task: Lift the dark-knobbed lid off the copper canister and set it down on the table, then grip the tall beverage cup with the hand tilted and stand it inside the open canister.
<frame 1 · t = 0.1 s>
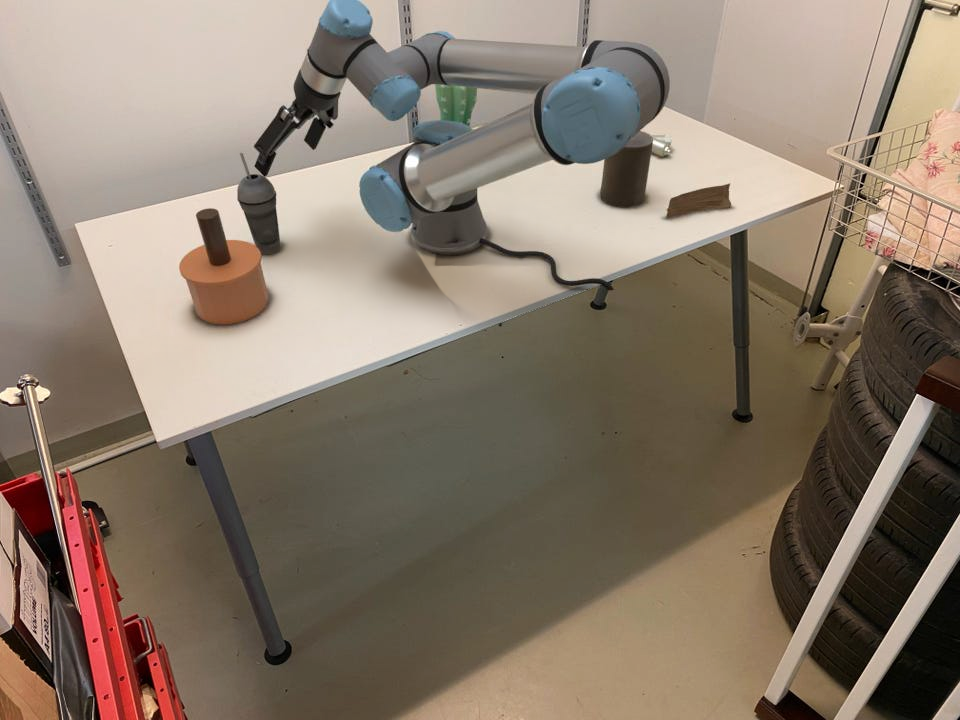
hand: (285, 157, 141), 15 cm above the table, tool tilted 35°, fingers open, 13 cm apart
pillar candle: (622, 197, 160), on the table
wood plank: (697, 213, 154), on the table
beverage cup: (269, 249, 144), on the table
pipe fitting: (652, 153, 177), on the table
canister: (232, 303, 130), on the table
lid: (221, 263, 125), point 8 cm above the table, touching canister
potted cactus: (457, 172, 170), on the table
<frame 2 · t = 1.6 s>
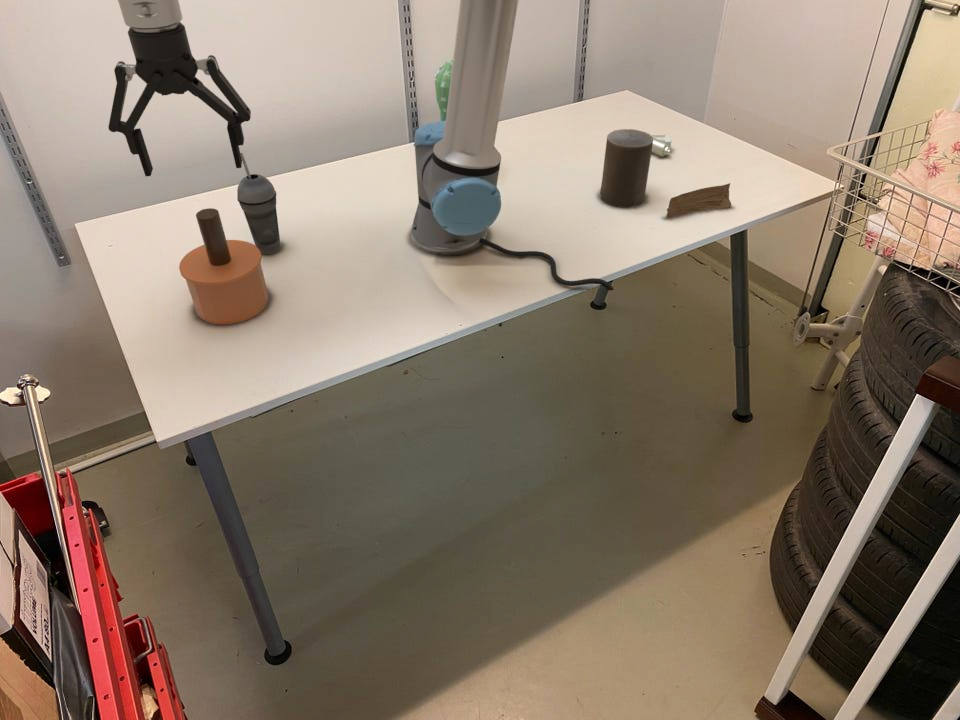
hand: (194, 168, 114), 26 cm above the table, tool pointing down, fingers open, 13 cm apart
nothing on the table moved.
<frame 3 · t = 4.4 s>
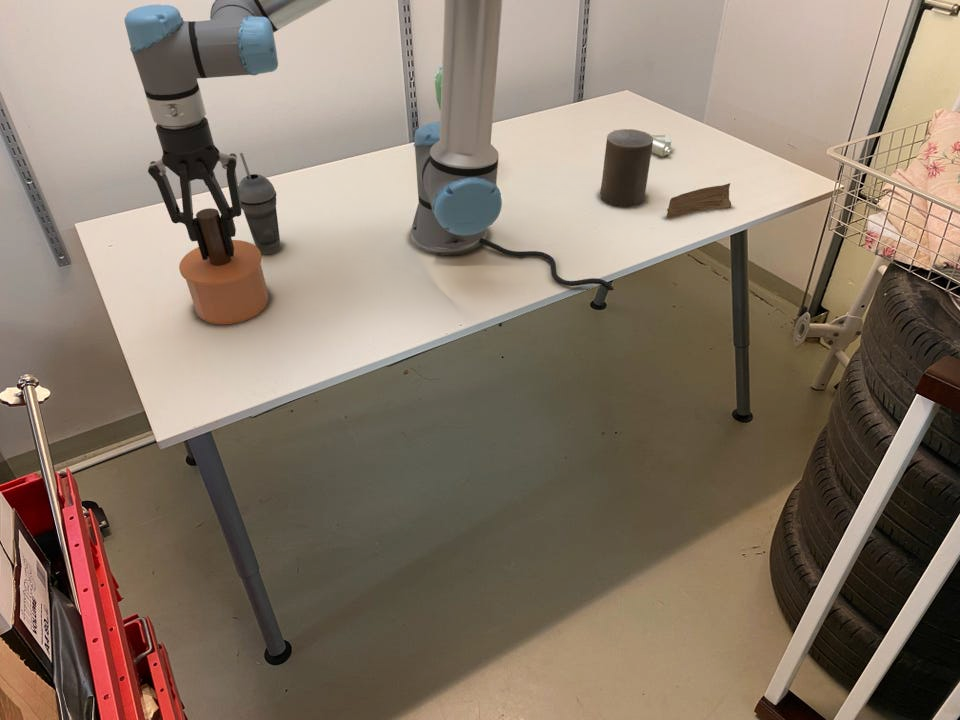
hand: (218, 253, 123), 10 cm above the table, tool pointing down, fingers closed on lid, 4 cm apart
lid: (221, 263, 125), point 9 cm above the table, touching canister, gripper
everything else where it was.
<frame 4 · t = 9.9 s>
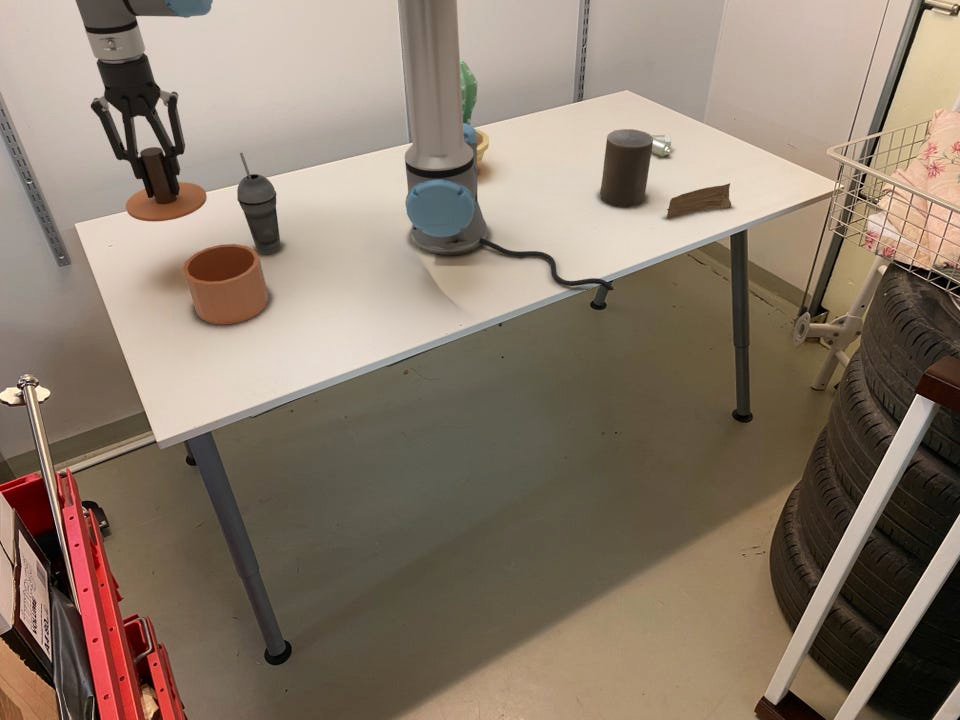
hand: (164, 192, 128), 16 cm above the table, tool pointing down, fingers closed on lid, 4 cm apart
lid: (167, 202, 129), point 15 cm above the table, touching gripper
everything else where it was.
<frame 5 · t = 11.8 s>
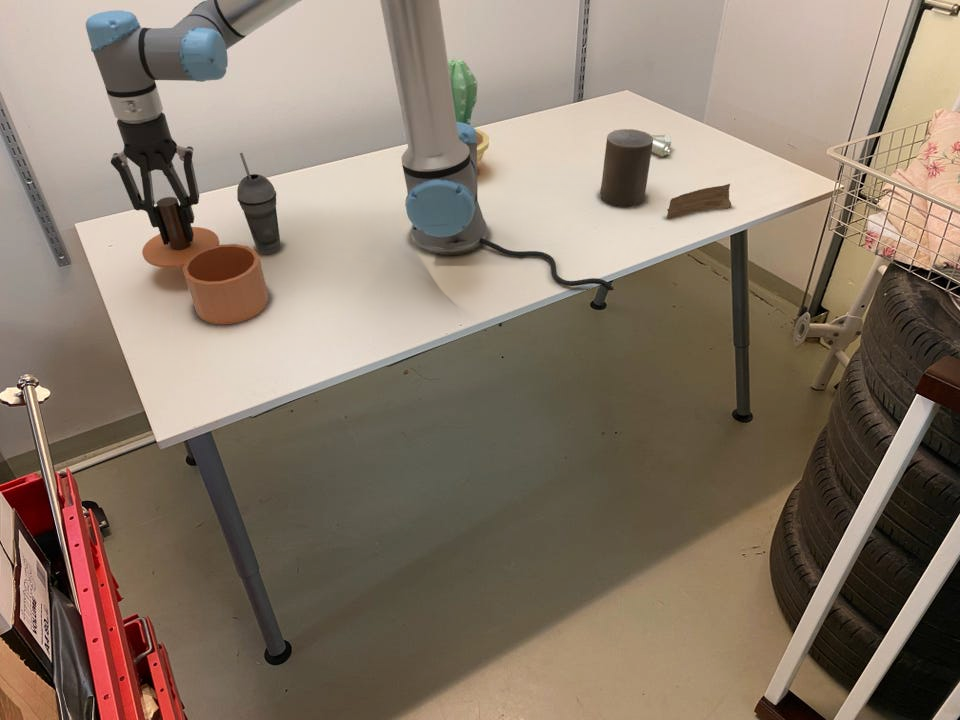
hand: (178, 239, 134), 7 cm above the table, tool pointing down, fingers closed on lid, 4 cm apart
lid: (181, 248, 135), point 5 cm above the table, touching gripper
everything else where it was.
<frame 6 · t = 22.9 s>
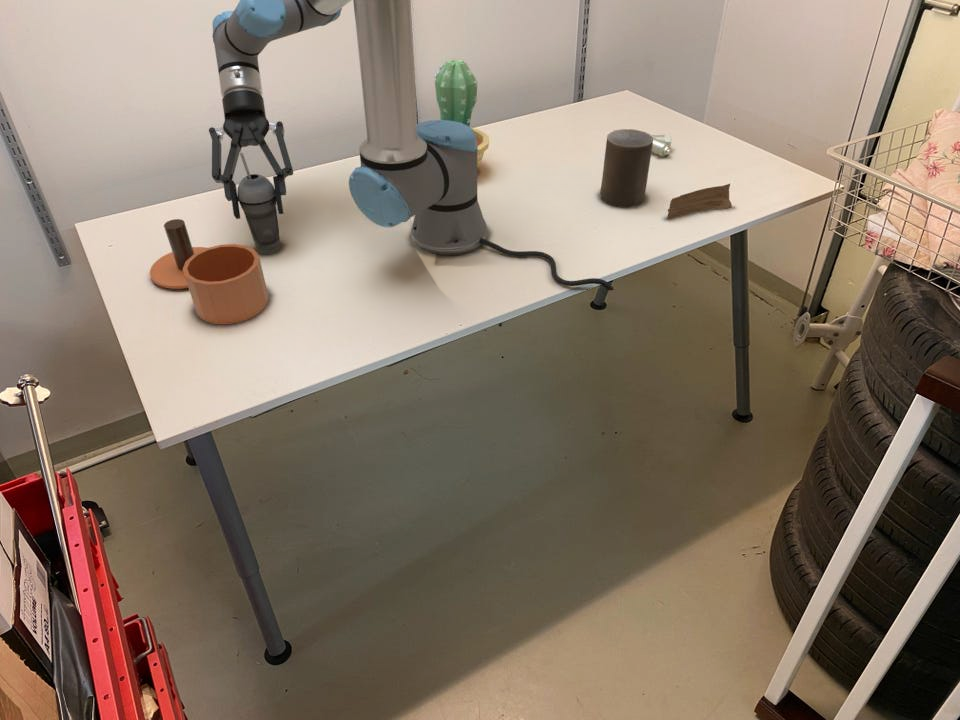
hand: (258, 214, 136), 10 cm above the table, tool tilted 45°, fingers closed on beverage cup, 7 cm apart
beverage cup: (269, 249, 144), on the table, touching gripper
lid: (188, 268, 138), point 1 cm above the table
everything else where it was.
when the fingers open (10 cm above the table, at t = 32.1 s): beverage cup stays where it is, resting on canister.
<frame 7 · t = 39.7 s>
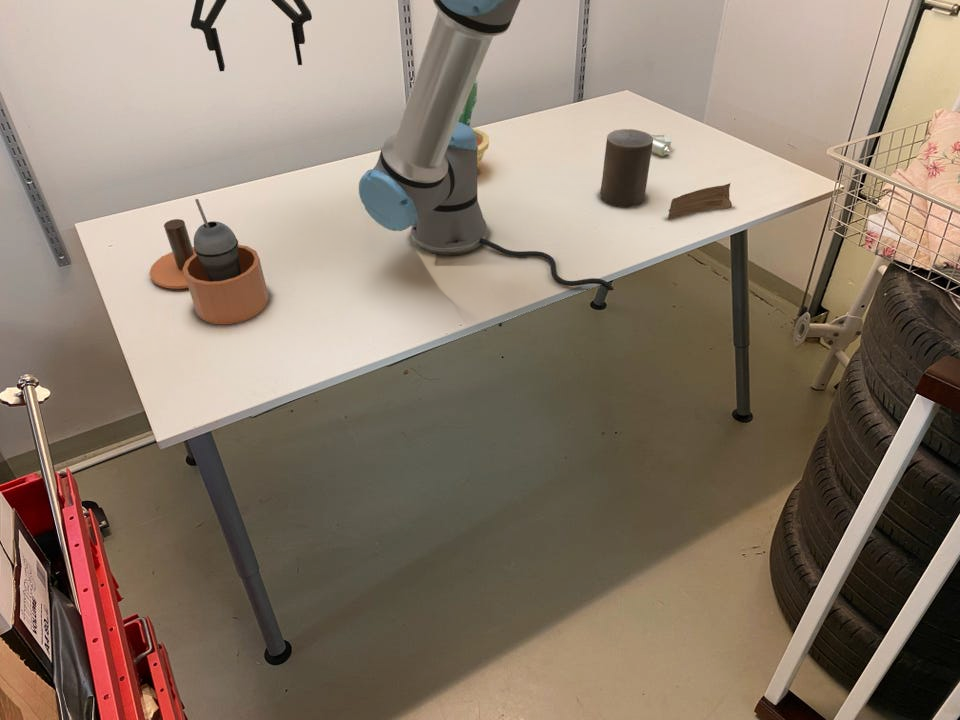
hand: (261, 66, 130), 33 cm above the table, tool pointing down, fingers open, 13 cm apart
beverage cup: (232, 301, 130), resting on canister
everything else where it was.
at the end: lid inside the target area (0.1 cm from its centre), point 0.6 cm above the table; beverage cup 0.1 cm off-centre in the canister, point 0.3 cm above the canister's base; beverage cup tilted 0° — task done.
